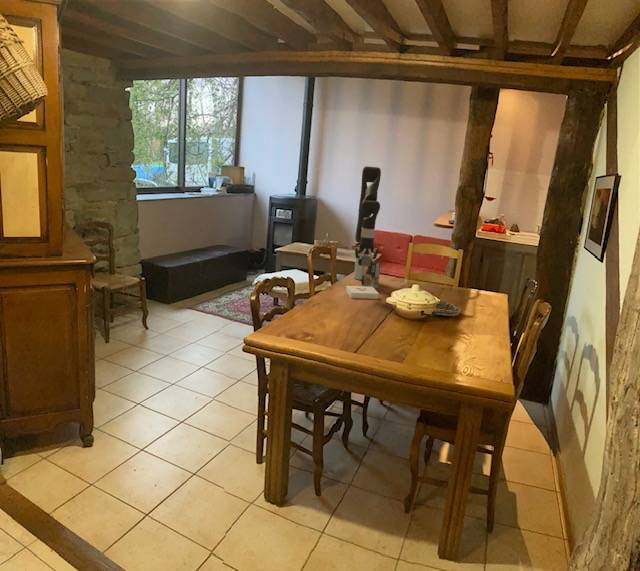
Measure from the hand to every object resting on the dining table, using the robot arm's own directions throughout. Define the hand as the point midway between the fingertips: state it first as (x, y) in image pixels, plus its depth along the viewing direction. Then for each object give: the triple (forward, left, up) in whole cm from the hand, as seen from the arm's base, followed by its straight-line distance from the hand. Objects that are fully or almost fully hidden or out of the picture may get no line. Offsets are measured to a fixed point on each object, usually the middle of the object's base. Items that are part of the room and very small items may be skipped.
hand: (364, 265), depth 276 cm
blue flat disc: (+31, +36, -18) cm, 51 cm away
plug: (0, 0, -2) cm, 2 cm away
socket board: (0, 0, -17) cm, 17 cm away
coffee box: (-19, +9, -18) cm, 27 cm away
